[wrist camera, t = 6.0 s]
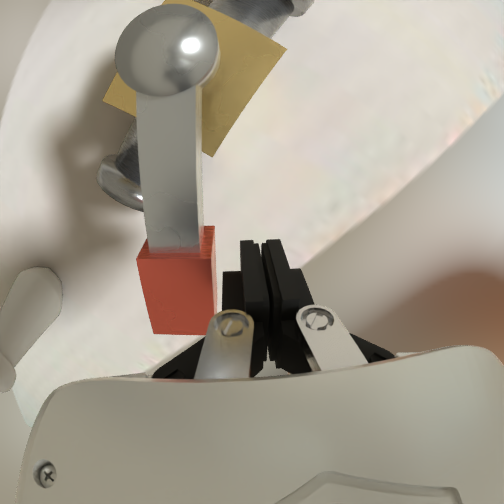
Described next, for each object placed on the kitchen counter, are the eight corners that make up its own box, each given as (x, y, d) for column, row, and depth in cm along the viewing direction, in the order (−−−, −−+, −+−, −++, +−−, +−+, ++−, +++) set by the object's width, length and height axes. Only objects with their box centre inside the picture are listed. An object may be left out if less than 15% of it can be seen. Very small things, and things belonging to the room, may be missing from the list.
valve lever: (141, 29, 7) (117, 11, 5) (222, 22, 8) (219, -1, 5) (159, 295, 13) (149, 333, 11) (221, 295, 13) (220, 335, 11)
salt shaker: (22, 282, 23) (-38, 369, 11) (33, 247, 21) (-43, 340, 10) (61, 313, 25) (13, 409, 14) (77, 283, 23) (18, 391, 12)
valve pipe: (228, -23, 12) (228, -91, 4) (306, 18, 14) (358, -28, 6) (111, 158, 18) (44, 200, 10) (184, 196, 20) (157, 261, 12)
